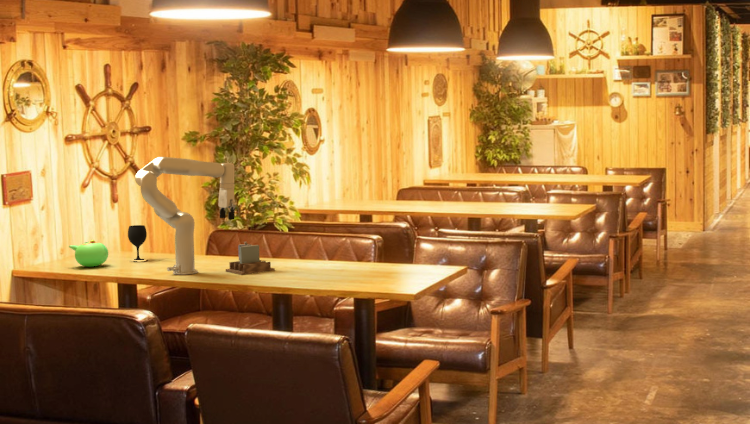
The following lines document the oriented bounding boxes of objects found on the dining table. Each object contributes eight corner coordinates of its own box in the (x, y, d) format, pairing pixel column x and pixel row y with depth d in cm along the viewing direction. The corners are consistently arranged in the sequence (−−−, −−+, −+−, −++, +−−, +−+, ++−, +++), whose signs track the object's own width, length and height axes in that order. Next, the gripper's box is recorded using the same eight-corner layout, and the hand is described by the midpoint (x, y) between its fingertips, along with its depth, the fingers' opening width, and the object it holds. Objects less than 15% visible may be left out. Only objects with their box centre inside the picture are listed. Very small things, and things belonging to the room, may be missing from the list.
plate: (241, 270, 494) (241, 247, 493) (239, 269, 495) (239, 246, 494) (259, 267, 501) (259, 245, 500) (257, 267, 502) (257, 244, 501)
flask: (237, 260, 539) (237, 241, 538) (240, 259, 542) (240, 241, 541) (251, 261, 535) (251, 242, 534) (254, 260, 538) (254, 241, 537)
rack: (241, 274, 486) (241, 265, 485) (225, 271, 498) (225, 262, 497) (274, 270, 498) (274, 261, 498) (258, 267, 511) (257, 258, 510)
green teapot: (87, 269, 510) (86, 242, 509) (68, 267, 521) (67, 240, 519) (114, 265, 525) (113, 239, 523) (95, 263, 535) (94, 237, 534)
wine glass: (127, 260, 545) (125, 225, 544) (145, 259, 550) (144, 224, 548) (130, 262, 536) (129, 227, 534) (149, 261, 540) (148, 226, 539)
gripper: (213, 185, 507) (212, 217, 508) (228, 187, 493) (228, 220, 494) (225, 185, 511) (225, 217, 513) (241, 187, 497) (241, 219, 499)
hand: (226, 218), depth 503 cm, fingers open, 9 cm apart
